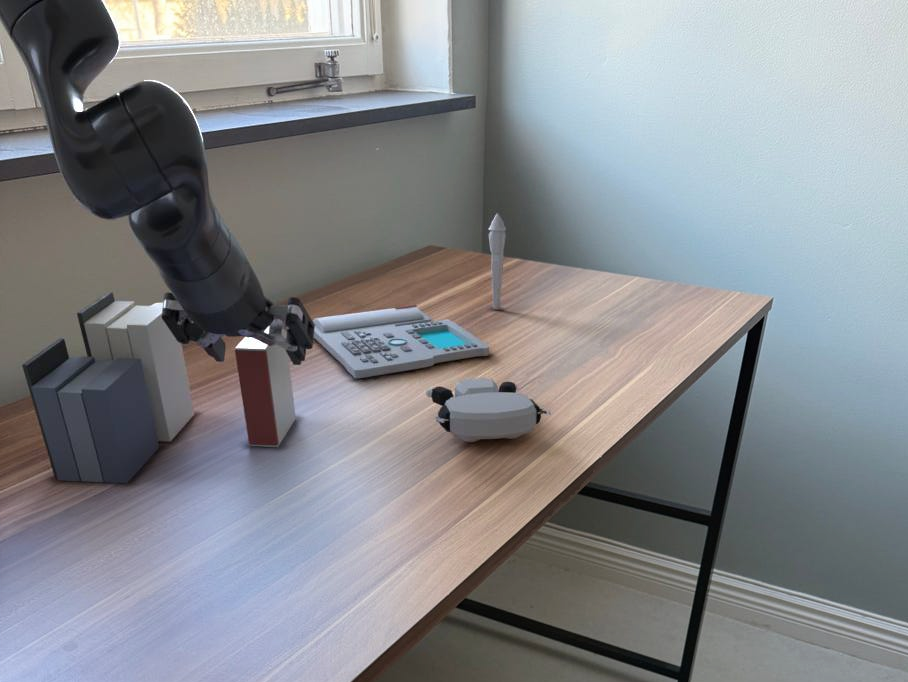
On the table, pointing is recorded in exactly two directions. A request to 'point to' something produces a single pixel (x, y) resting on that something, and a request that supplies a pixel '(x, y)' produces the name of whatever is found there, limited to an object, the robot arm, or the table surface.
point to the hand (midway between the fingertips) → (259, 355)
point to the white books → (142, 355)
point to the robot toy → (485, 410)
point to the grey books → (91, 414)
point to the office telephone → (394, 341)
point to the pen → (497, 257)
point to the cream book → (265, 391)
